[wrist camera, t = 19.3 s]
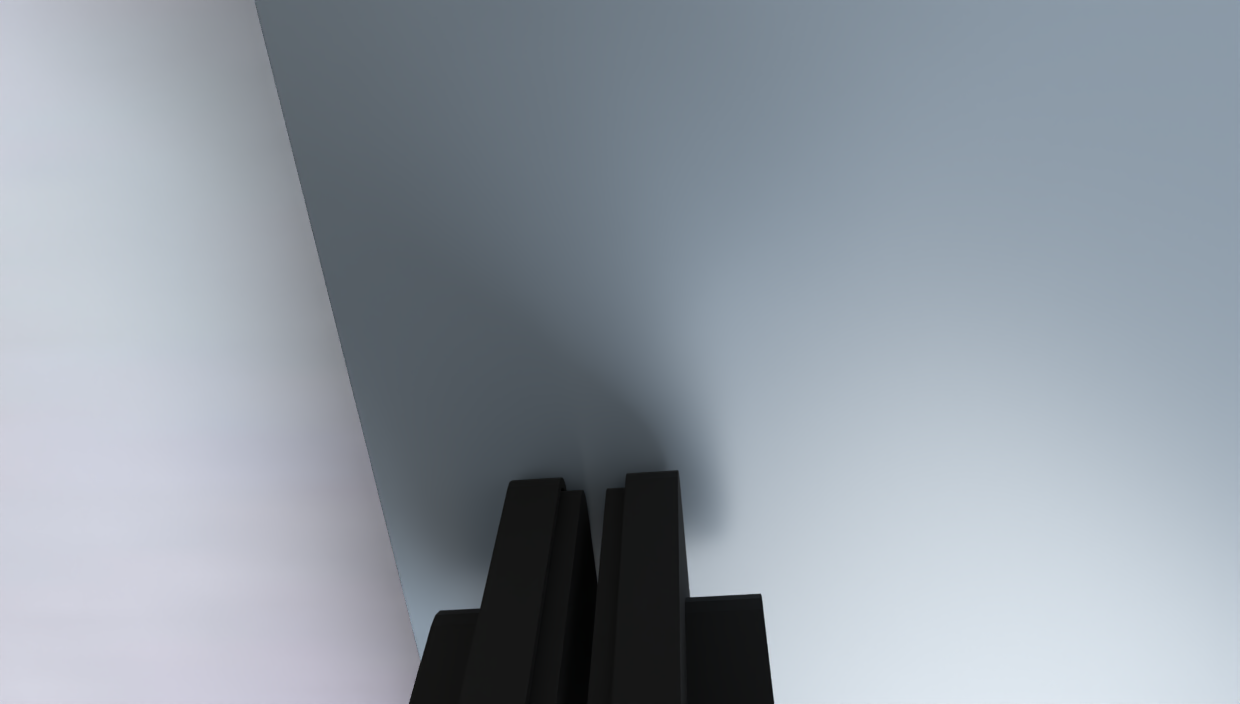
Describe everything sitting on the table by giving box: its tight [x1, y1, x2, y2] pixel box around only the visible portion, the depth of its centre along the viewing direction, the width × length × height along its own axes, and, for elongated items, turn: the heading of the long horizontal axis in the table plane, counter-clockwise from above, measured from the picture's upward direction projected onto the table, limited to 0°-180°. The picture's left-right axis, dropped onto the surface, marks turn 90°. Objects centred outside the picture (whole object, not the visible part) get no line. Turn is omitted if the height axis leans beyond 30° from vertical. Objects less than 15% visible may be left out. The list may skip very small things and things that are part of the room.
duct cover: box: [255, 0, 1240, 704], centre depth 12 cm, size 12×22×1 cm, turn 6°
